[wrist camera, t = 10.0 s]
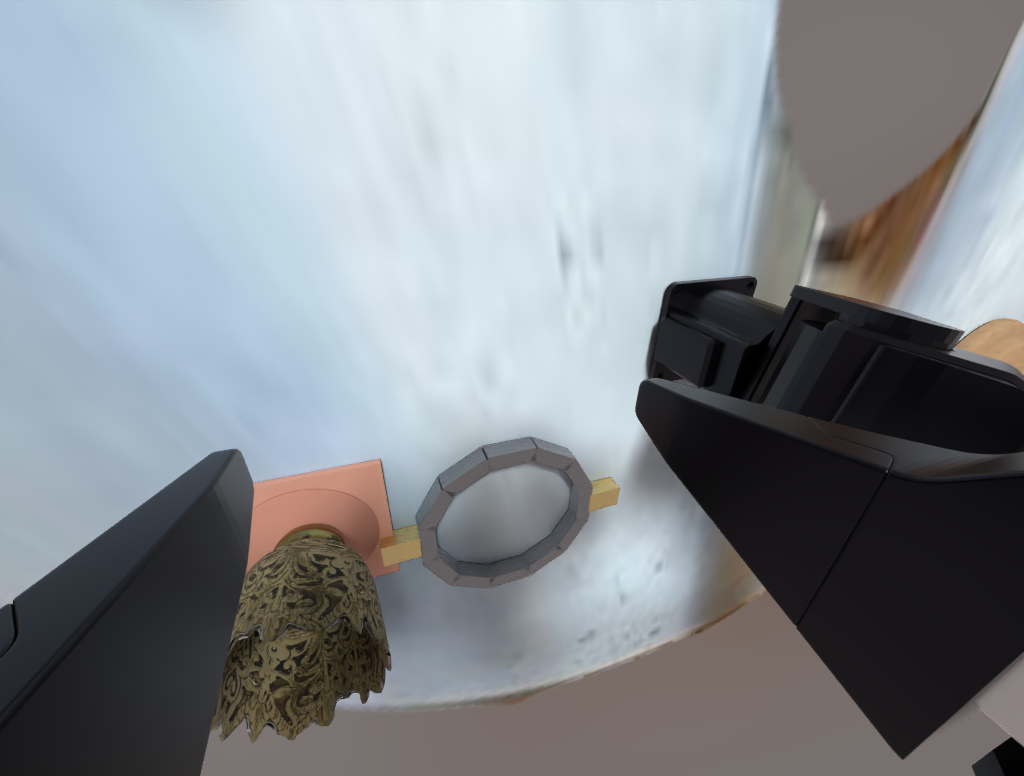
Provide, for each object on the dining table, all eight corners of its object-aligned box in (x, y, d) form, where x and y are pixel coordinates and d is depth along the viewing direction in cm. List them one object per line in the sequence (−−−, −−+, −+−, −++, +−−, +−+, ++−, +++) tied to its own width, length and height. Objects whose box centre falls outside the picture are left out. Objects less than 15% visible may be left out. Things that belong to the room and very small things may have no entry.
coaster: (380, 458, 23) (380, 464, 22) (398, 565, 27) (399, 571, 27) (191, 495, 20) (188, 502, 20) (245, 606, 25) (243, 614, 24)
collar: (621, 418, 28) (631, 428, 27) (599, 540, 34) (607, 551, 33) (366, 468, 23) (367, 482, 22) (393, 601, 29) (394, 617, 28)
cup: (284, 604, 25) (262, 765, 18) (200, 533, 21) (134, 707, 14) (399, 548, 26) (417, 681, 19) (341, 470, 22) (340, 605, 15)
